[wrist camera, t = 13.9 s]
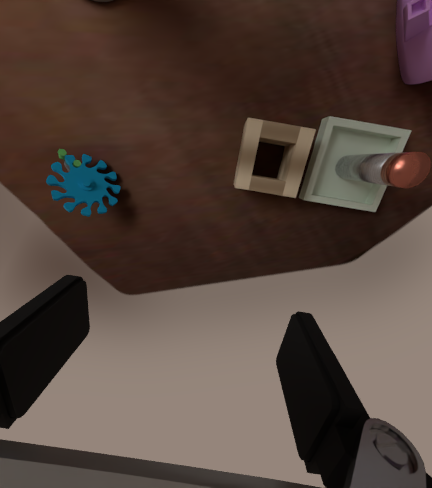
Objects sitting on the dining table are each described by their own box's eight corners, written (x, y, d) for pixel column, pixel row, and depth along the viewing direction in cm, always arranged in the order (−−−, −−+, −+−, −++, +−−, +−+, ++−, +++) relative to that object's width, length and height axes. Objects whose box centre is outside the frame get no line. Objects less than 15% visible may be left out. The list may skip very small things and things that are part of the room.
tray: (322, 119, 33) (329, 116, 30) (398, 132, 33) (411, 130, 31) (298, 197, 37) (303, 200, 35) (366, 208, 37) (375, 212, 35)
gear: (132, 199, 37) (71, 225, 32) (126, 209, 42) (72, 232, 36) (96, 138, 35) (24, 154, 30) (94, 156, 40) (32, 172, 35)
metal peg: (339, 153, 34) (403, 148, 22) (362, 156, 34) (437, 154, 22) (331, 176, 35) (387, 185, 23) (353, 180, 35) (419, 190, 23)
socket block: (244, 124, 33) (248, 117, 28) (300, 134, 34) (315, 129, 28) (233, 183, 37) (235, 187, 31) (285, 192, 37) (295, 198, 31)
